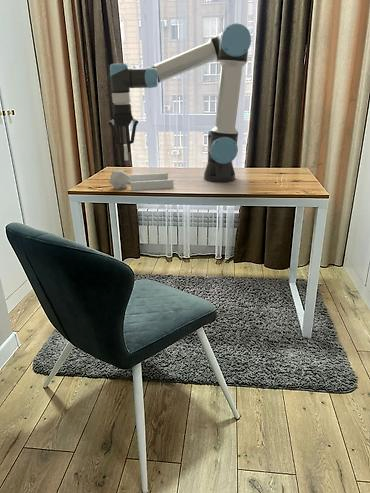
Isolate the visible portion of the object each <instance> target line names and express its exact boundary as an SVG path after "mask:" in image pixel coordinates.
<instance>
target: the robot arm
mask: <svg viewBox="0 0 370 493" xmlns="http://www.w3.org/2000/svg"><path fill="white" fill-rule="evenodd" d="M251 36H252V35H251V32H250V31H249V29H248V28H247V26H245V25H244V24H242V23H238V22H237V23H231V24H229V25H227V26H226V27H225V28H224V29H223V30H222V32H220V33H218V34H217V35H215V36H214V37H213V36H212V37H211V38H209V39H208V42H206V43H205V42H204V43H203V44H202V45H198V46H196V47H194V48H191V49H189V50H187V51H185V52H182V53H179V54H177V55H174V56H172V57H169V58H167V59H165V60H163V61H160V62H157V63H155V64H153V65H150V66H148V67H140V68H139V67H138V68H129V66H128V63H125V62H124V63H111V64H110V65H109V78H110V86H111V98H112V100H111V101H112V103H113V105H112V110H113V116H112V119H111V120H109V121H108V123H107V124H109V127H111V130H112V133H113V136H114V139H115V142H116V144H117V145H120V150H121V153H123V155H124V161H129V153H131V145H132V144H134V142H135V136H136V129H137V125H138V124H139V120H138V119H136V118H134V116H133V114H132V105H131V89H152V88H157V87H158V86H159V83H162V82H164V81H167V80H169V79H171V78H174V77H176V76H179V75H182V74H183V73H186V72H188V71H191V70H193V69H197V68H199V67H201V66H204V65H206V64H209V63H211V62H218V63H219V64H220V76H219V86H218V97H217V108H216V119H215V126H214V127H213V128H212V129H210V130H209V131H208V132H207V138H208V139H207V163H206V166H205V170H204V173H203V180H206V181H209V182H217V183H219V182H220V183H224V182H232V181H234V180H236V172H235V168H234V166H233V161H234V160H235V159H236V157H237V155H238V151H239V149H238V148H239V147H238V138H239V131H238V129H237V128H236V126H237V125H236V123H237V116H238V109H239V108H238V107H239V99H240V98H239V97H240V89H241V83H242V82H241V81H242V75H243V74H242V73H243V67H244V66H245V65H246V64H247V62H248V55H249V49H250V47H251V43H252V37H251ZM115 123H116V125H117V126H118V128H119V136H118V134H117V131H116V128H115V126H114V125H115ZM131 124H132V129H131V136H130V132H129V131H130V129H129V126H130V125H131ZM123 127H124V130H125V140H124V130H123ZM119 138H120V139H119ZM124 141H126V142H125V143H126V144H124Z"/></svg>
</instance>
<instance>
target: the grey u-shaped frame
mask: <svg viewBox="0 0 370 493" xmlns="http://www.w3.org/2000/svg"><path fill="white" fill-rule="evenodd" d="M127 175H128V176H129V177H130V179H129V182H128V184H130V190H131V191H142V190H155V189H156V190H157V189H158V190H159V189H173V188H174V186H175V185H174V179H172V178H171V179H169V173H168V172H157V173H140V174H127Z"/></svg>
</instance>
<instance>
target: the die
mask: <svg viewBox="0 0 370 493" xmlns="http://www.w3.org/2000/svg"><path fill="white" fill-rule="evenodd" d="M128 175H129V174H127V172H125V170H123V169H119V170H112V171H111V174H110V178H109V180H108V182H109V183H110V184H111V186H112V187H113V188H114V189H115V190H116V191H117V190H123V189H127V187H128V185H129V183H128V182H129V179H130V177H129V176H128Z"/></svg>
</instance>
